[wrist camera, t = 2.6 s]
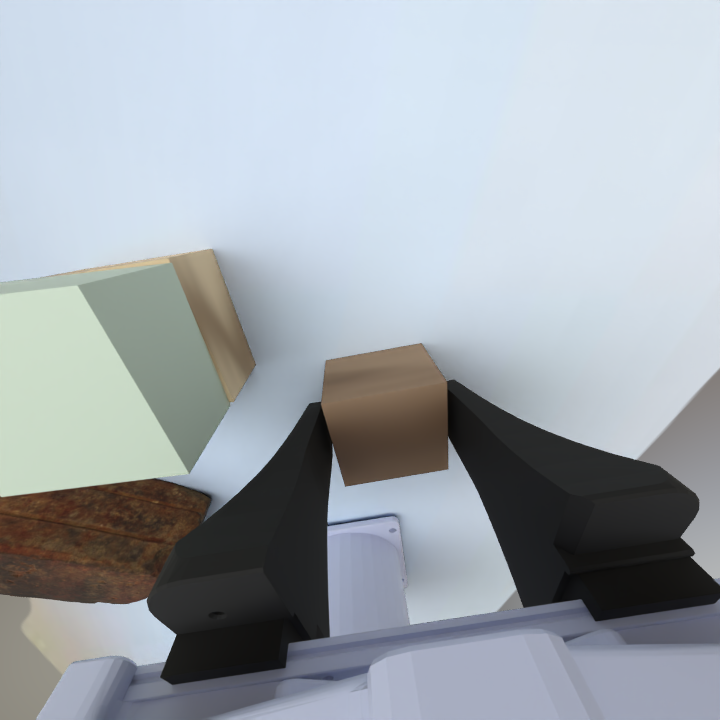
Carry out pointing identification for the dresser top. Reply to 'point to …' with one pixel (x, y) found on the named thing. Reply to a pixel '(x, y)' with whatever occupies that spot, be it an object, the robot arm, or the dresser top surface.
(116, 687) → the robot arm
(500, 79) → the dresser top surface
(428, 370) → the walnut block
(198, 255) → the oak block
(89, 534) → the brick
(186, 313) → the sage block
